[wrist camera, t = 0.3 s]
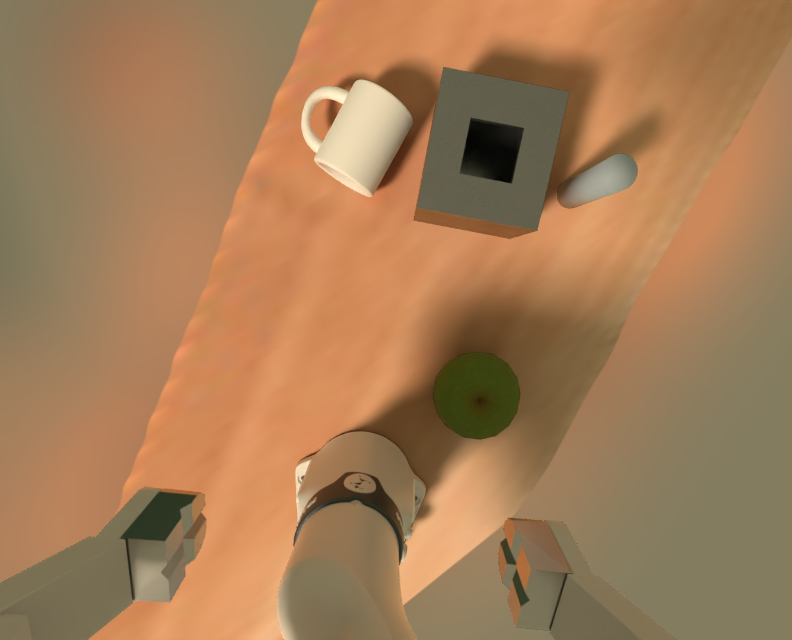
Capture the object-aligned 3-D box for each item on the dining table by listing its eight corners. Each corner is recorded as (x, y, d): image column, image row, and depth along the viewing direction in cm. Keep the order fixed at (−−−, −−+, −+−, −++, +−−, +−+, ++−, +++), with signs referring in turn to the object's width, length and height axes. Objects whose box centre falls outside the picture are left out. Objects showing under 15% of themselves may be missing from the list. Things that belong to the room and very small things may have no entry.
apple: (497, 422, 53) (519, 457, 43) (423, 412, 53) (429, 444, 43) (511, 348, 52) (538, 366, 42) (436, 337, 52) (444, 352, 42)
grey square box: (510, 238, 50) (537, 230, 40) (413, 220, 50) (416, 207, 40) (534, 128, 48) (569, 91, 38) (434, 109, 48) (443, 67, 38)
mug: (412, 133, 48) (415, 106, 40) (373, 202, 50) (369, 189, 42) (331, 83, 48) (317, 46, 40) (294, 154, 49) (273, 132, 41)
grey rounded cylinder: (580, 210, 49) (632, 193, 38) (554, 205, 49) (597, 186, 38) (587, 182, 49) (641, 157, 38) (560, 177, 49) (606, 150, 38)
